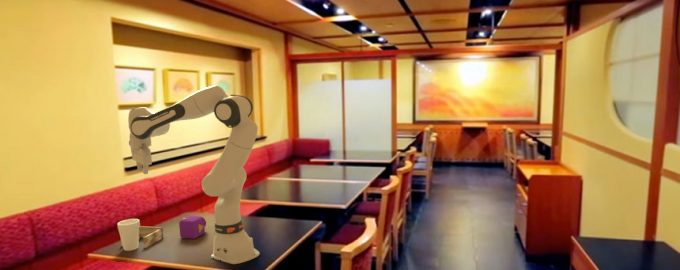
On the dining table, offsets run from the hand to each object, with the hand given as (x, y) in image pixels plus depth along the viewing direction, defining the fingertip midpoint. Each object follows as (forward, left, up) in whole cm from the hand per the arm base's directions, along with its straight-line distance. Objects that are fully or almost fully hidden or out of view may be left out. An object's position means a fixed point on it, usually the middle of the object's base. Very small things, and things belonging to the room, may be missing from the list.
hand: (142, 172), depth 193 cm
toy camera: (+2, -23, -38) cm, 44 cm away
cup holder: (+13, -1, -37) cm, 40 cm away
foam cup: (+9, +5, -38) cm, 39 cm away
